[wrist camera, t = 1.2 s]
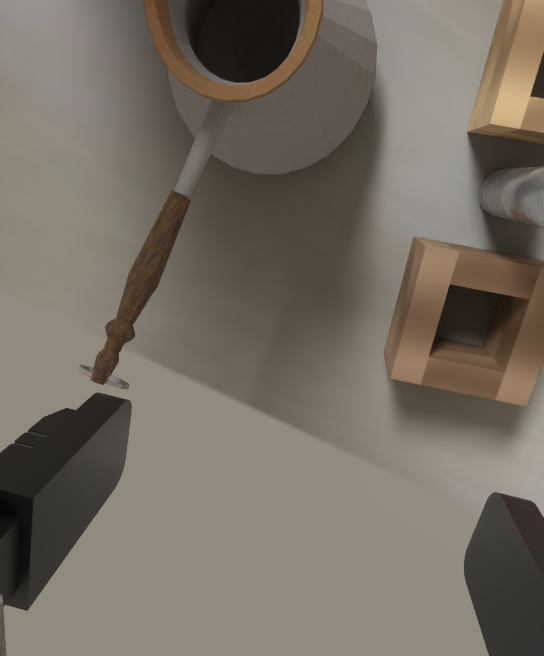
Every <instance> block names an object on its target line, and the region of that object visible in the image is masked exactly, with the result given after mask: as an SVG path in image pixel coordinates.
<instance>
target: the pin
mask: <svg viewBox="0 0 544 656" xmlns="http://www.w3.org/2000/svg"><path fill="white" fill-rule="evenodd" d="M479 202H480V205H481V207H482V208H483V209H484V210H485V211H486V212H487V213H489V214H490V215H493V216H497V217H501V218H505V219H509V220H513V221H517V222H522V223H526V224H530V225H534V226H538V227H542V228H544V166H543V167H524V168H505V169H499V170H496V171H494V172H492V173H491V174H489V175H488V176H487V177H486V178H485V179H484V181H483V182H482V184H481V186H480V189H479Z"/></svg>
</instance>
